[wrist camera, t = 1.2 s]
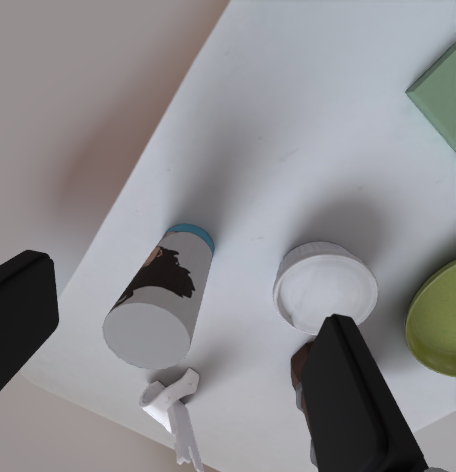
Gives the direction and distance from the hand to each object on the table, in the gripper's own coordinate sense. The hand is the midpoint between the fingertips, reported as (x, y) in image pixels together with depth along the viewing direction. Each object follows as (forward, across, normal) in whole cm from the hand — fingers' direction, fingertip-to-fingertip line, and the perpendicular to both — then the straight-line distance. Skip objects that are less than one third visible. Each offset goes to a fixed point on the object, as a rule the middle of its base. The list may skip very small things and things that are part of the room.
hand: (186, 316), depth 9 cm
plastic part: (+23, +1, +37) cm, 44 cm away
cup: (+23, +3, +10) cm, 25 cm away
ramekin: (+23, -13, +10) cm, 28 cm away
